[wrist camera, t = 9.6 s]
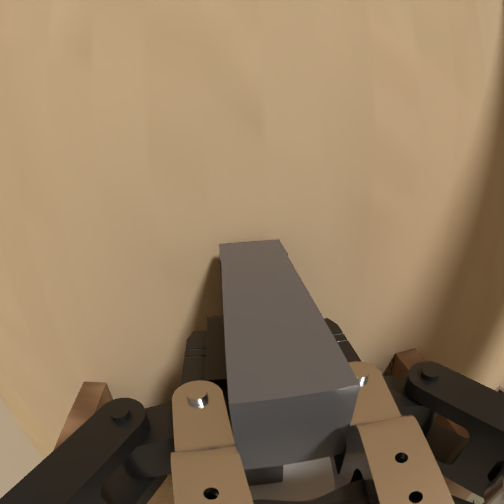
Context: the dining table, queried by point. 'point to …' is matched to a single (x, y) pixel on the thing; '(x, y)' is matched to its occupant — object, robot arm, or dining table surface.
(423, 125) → the dining table surface
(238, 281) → the scraper
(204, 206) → the dining table surface
